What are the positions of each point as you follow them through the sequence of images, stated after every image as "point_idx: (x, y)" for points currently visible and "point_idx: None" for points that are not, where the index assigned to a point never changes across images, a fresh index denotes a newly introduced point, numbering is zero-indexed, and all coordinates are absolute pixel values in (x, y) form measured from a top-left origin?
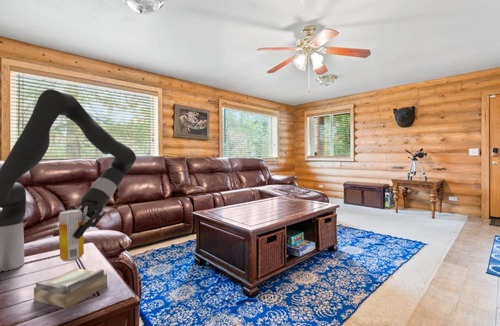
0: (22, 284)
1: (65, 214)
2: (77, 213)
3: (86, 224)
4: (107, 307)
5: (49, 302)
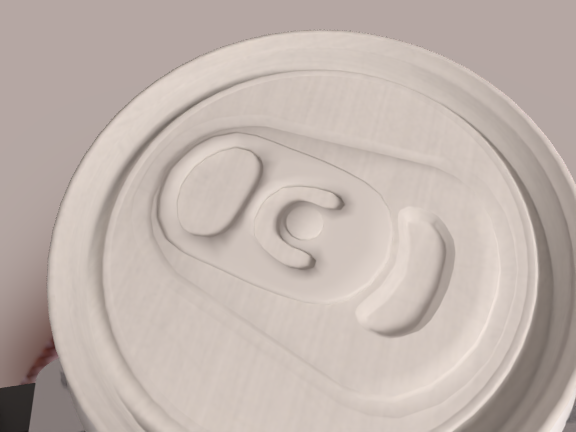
0: None
1: (240, 62)
2: (68, 241)
3: (29, 392)
4: (42, 354)
5: None
